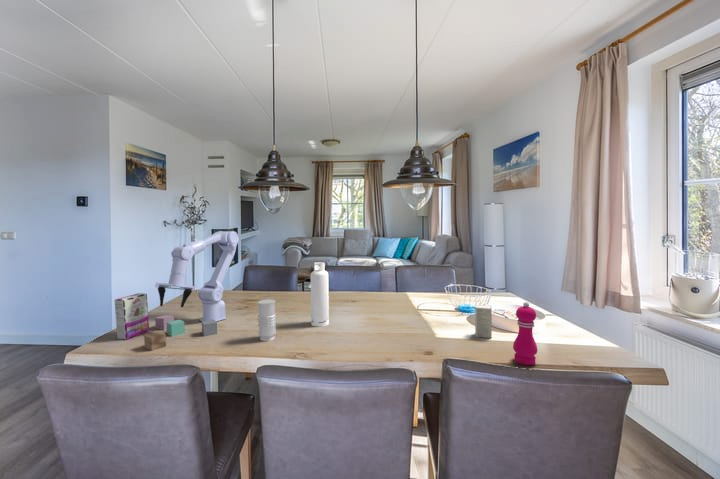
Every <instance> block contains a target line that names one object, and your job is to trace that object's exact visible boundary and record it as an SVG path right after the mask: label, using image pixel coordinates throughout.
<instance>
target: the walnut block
mask: <svg viewBox="0 0 720 479" xmlns="http://www.w3.org/2000/svg"><path fill="white" fill-rule="evenodd" d="M166 334H167V333H165V332H162V331H159V330H158V331H154V332H151V333H148V334H144V335H143V340H144V342H143V343H144V349H145V350H149V351H151V352H152V351H156V350H159V349H162V348H165V347H166V346H167V339H166Z"/></svg>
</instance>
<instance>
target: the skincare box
mask: <svg viewBox="0 0 720 479" xmlns="http://www.w3.org/2000/svg"><path fill="white" fill-rule="evenodd" d="M474 305H475V306H474V307H475V309H474V311H475V314H474V318H475V320H474V321H475V325H474V326H475V328H474V329H475V337H477V338H485V339H486V338H487V339H492V338H493V337H492V332H493V331H492V325H493V324H492V320H493V319H492V318H493V316H492V313H493V312H492V305H483V304H481V305H480V304H474Z"/></svg>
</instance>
